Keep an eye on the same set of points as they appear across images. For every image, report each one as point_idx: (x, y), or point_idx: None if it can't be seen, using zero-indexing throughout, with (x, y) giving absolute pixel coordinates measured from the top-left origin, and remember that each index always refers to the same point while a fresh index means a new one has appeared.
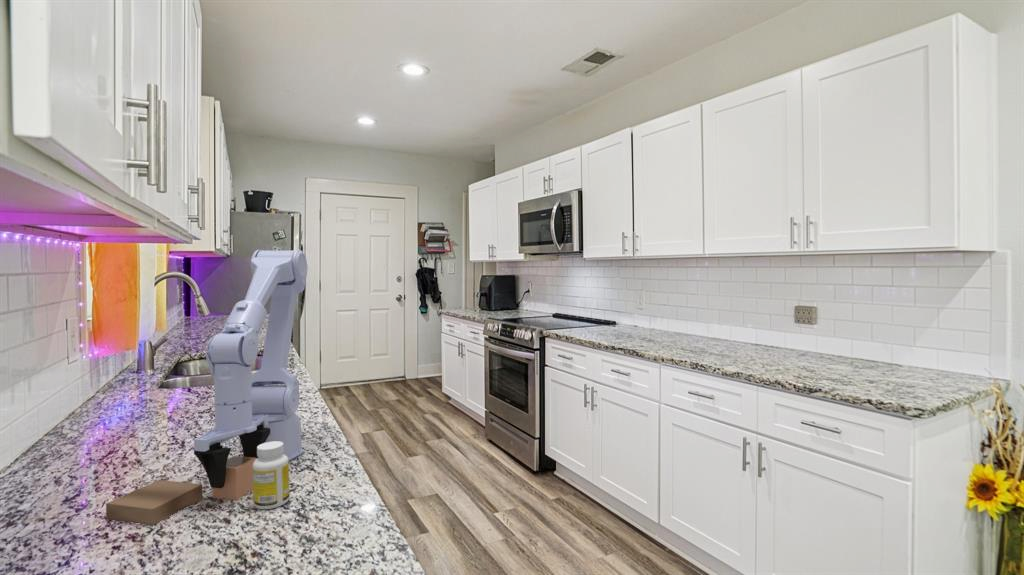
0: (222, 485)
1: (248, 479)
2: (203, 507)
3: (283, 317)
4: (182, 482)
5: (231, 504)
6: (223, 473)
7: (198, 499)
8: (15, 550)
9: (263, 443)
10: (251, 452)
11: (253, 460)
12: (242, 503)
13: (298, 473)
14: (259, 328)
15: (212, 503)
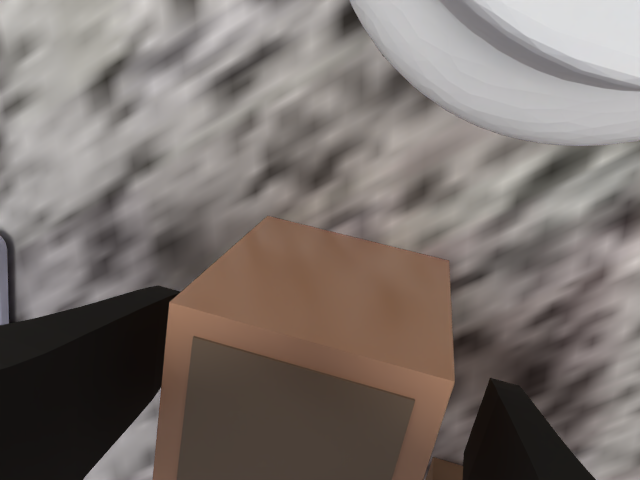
0: (518, 389)
1: (326, 266)
2: (546, 407)
3: None
4: None
5: (517, 261)
6: (546, 448)
7: (460, 474)
8: None
9: (570, 14)
10: (86, 399)
11: (217, 309)
12: (507, 195)
13: (26, 37)
14: None
15: None
